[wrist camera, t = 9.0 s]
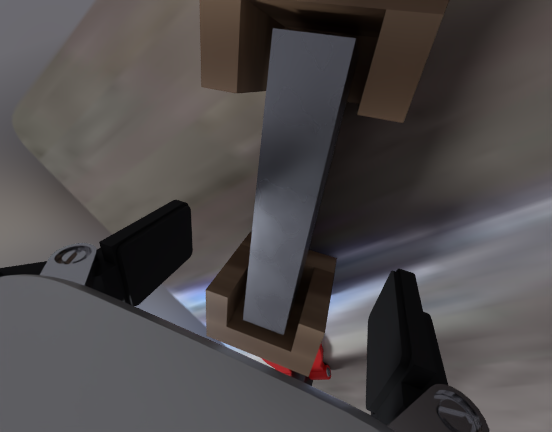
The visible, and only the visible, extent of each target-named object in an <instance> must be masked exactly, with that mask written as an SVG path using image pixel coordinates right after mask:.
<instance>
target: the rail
mask: <svg viewBox="0 0 552 432" xmlns="http://www.w3.org/2000/svg"><path fill="white" fill-rule="evenodd" d="M358 55H359V51H358V46H357V41H356V38H349V37H341V36H333V35H325V34H316V33H308V32H300V31H292V30H284V29H275V28H273V31H272V40H271V50H270V60H269V70H268V80H267V90H266V99H265V109H264V119H263V129H262V139H261V148H260V158H259V168H258V178H257V188H256V197H255V207H254V217H253V227H252V237H251V246H250V256H249V266H248V276H247V286H246V295H245V305H244V315H243V320H245V321H247V322H250V323H253V324H255V325H258V326H261V327H263V328H266V329H268V330H271V331H274V332H276V333H279V334H282V335H284V332H285V329H286V326H287V323H288V320H289V317H290V314H291V310H292V307H293V304H294V301H295V298H296V295H297V292H298V289H299V286H300V282H301V278H302V274H303V270H304V266H305V263H306V259H307V255H308V251H309V247H310V243H311V239H312V235H313V231H314V227H315V223H316V220H317V216H318V212H319V208H320V204H321V200H322V196H323V192H324V188H325V184H326V180H327V177H328V173H329V169H330V165H331V161H332V157H333V153H334V149H335V145H336V141H337V137H338V134H339V130H340V126H341V122H342V118H343V114H344V110H345V106H346V102H347V98H348V94H349V90H350V87H351V83H352V79H353V75H354V71H355V67H356V63H357V59H358Z"/></svg>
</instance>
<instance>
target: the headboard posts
mask: <svg viewBox="0 0 552 432" xmlns="http://www.w3.org/2000/svg"><path fill="white" fill-rule="evenodd" d="M448 2H449V0H200V42H201V87H204V88H210V89H215V90H221V91H226V92H232V93H247V92H259V91H266V90H267V80H268V70H269V60H270V50H271V40H272V31H273V28H275V29H284V30H292V31H300V32H308V33H316V34H325V35H333V36H341V37H349V38H356V41H357V46H358V51H359V55H358V59H357V63H356V67H355V71H354V75H353V79H352V83H351V87H350V90H349V94H348V98H347V102H351V103H357V104H360V106H359V110H358V114H357V115H361V116H367V117H372V118H378V119H384V120H389V121H395V122H400V123H404V120H405V117H406V115H407V112H408V109H409V107H410V104H411V101H412V98H413V96H414V93H415V90H416V88H417V85H418V82H419V80H420V77H421V74H422V72H423V69H424V66H425V64H426V61H427V58H428V56H429V53H430V50H431V48H432V45H433V42H434V40H435V37H436V34H437V32H438V29H439V26H440V24H441V21H442V18H443V16H444V13H445V10H446V8H447V5H448ZM251 237H252V233H251V232H250V233H249V234H248V236H247V237H246V238H245V240H244V241H243V242H242V243H241V245H240V246H239V247H238V249H237V250H236V251H235V252H234V254H233V255H232V256H231V258H230V259H229V260H228V262H227V263H226V264H225V265H224V267H223V268H222V269H221V271H220V272H219V273H218V275H217V276H216V277H215V278H214V280H213V281H212V282H211V284H210V285H209V286H208V288H207V289H206V327H207V336H209V337H211V338H213V339H216V340H218V341H221V342H223V343H226V344H228V345H231V346H233V347H236V348H238V349H241V350H243V351H246V352H248V353H251V354H253V355H255V356H258V357H260V358H263V359H265V360H268V361H270V362H273V363H275V364H278V365H280V366H283V367H285V368H288V369H290V370H293V371H295V372H298V373H300V374H302V375H305V376H307V377H309V374H310V371H311V369H312V366H313V363H314V361H315V358H316V355H317V353H318V350H319V347H320V344H321V342H322V339H323V336H324V334H325V329H326V322H327V316H328V310H329V304H330V298H331V292H332V285H333V279H334V273H335V267H336V261H337V258H335V257H331V256H328V255H325V254H321V253H318V252H315V251H311V250H309V251H308V255H307V259H306V263H305V266H304V270H303V274H302V278H301V282H300V286H299V289H298V292H297V295H296V298H295V301H294V304H293V307H292V310H291V314H290V317H289V320H288V323H287V326H286V329H285V332H284V335H282V334H279V333H276V332H274V331H271V330H268V329H266V328H263V327H261V326H258V325H255V324H253V323H250V322H247V321H245V320H243V315H244V305H245V295H246V286H247V276H248V266H249V256H250V246H251Z"/></svg>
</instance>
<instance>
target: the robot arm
mask: <svg viewBox="0 0 552 432" xmlns="http://www.w3.org/2000/svg"><path fill="white" fill-rule="evenodd" d="M99 243H100V247H101V248H99V249H97V250H96V248H95V246H93V245H91V244H87V243H78V244H72V245H68V246H65V247H63V248H61V249H59V250H57V251H56V252H54V253H53V254H52V255H51V256H50V258H49V259H48V261H45V262H39V263H33V264H25V265H19V266H12V267H5V268H0V432H489V428H488V425H487V423H486V420H485V418H484V417H483V415H482V414H481V412H480V410H479V409H478V408H477V407H476V406H475V404H474V403H473V402H472V401H471V400H470V399H469V398H468V397H466V396H465V395H464V394H463V393H462V392H460V391H458V390H457V389H455V388H453V387H451V386H448V383H447V379H446V375H445V371H444V367H443V363H442V359H441V355H440V351H439V346H438V342H437V338H436V334H435V330H434V326H433V322H432V319H431V316H430V315H429V314H428V313H425V312H423V309H422V305H421V300H420V295H419V291H418V286H417V282H416V277H415V274H414V273H411V272H408V271H405V270H402V269H398V270H397V271H391V273H390V274H389V277H388V279H387V281H386V283H385V285H384V287H383V289H382V291H381V293H380V295H379V297H378V299H377V301H376V303H375V305H374V307H373V309H372V311H371V313H370V316H369V319H368V339H367V379H366V409H367V410H369V411H371V415H369V414H367V413H365V412H363V411H361V410H359V409H357V408H356V407H354V406H352V405H350V404H348V403H346V402H344V401H342V400H340V399H338V398H336V397H334V396H331V395H329V394H327V393H325V392H323V391H321V390H319V389H317V388H314V387H312V386H310V385H308V384H306V383H304V382H302V381H300V380H297V379H295V378H293V377H291V376H289V375H286V374H284V373H282V372H280V371H278V370H275V369H273V368H271V367H269V366H267V365H264V364H262V363H260V362H258V361H256V360H253V359H251V358H249V357H247V356H244V355H242V354H240V353H238V352H236V351H233V350H231V349H229V348H227V347H224V346H222V345H220V344H218V343H215V342H213V341H211V340H209V339H207V338H204V337H202V336H199V335H198V334H195V333H193V332H191V331H189V330H186V329H184V328H182V327H180V326H177V325H175V324H173V323H170V322H168V321H166V320H163V319H162V318H159V317H157V316H155V315H152V314H150V313H148V312H146V311H143V310H141V309H139V308H136V307H134V306H137V305H139V304H140V303H141V302H142V301H143V300H144V299H145V298H146V297H147V296H149V295H150V294H151V293H152V292H153V291H154V290H155V289H156V288H157V287H158V286H160V285H161V284H162V283H163V282H164V281H165V280H166V279H167V278H168V277H169V276H170V275H171V274H172V273H174V272H175V271H176V270H177V269H178V268H179V267H180V266H181V265H182V264H183V263H184V262H185V261H187V260H188V259H189V258H190V256H191V255H192V251H193V249H192V227H191V209H190V207H189V206H188V204H187V203H185V202H182V201H179V200H173V201H171V202H170V203H168V204H166V205H164V206H162V207H161V208H159V209H157V210H155V211H154V212H152V213H150V214H148V215H147V216H145V217H143V218H141V219H139V220H138V221H136V222H134V223H132V224H131V225H129V226H127V227H125V228H123V229H122V230H120V231H118V232H116V233H115V234H113V235H111V236H109V237H107V238H106V239H104V240H102V241H100V242H99Z"/></svg>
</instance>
